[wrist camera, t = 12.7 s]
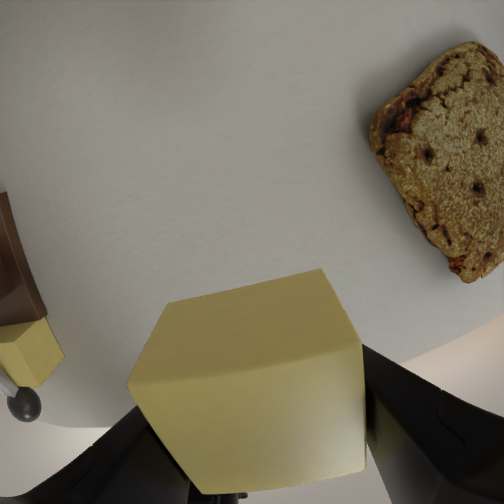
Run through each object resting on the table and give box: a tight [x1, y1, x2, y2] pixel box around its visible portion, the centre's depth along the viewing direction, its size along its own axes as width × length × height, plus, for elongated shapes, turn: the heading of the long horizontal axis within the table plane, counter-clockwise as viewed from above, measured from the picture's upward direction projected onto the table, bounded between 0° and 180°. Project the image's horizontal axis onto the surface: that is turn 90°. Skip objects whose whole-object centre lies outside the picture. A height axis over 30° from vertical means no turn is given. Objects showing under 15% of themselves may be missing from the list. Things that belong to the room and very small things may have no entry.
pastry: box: [369, 41, 504, 283], centre depth 15 cm, size 17×17×3 cm
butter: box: [0, 316, 64, 387], centre depth 19 cm, size 4×7×4 cm, turn 103°
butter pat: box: [126, 269, 366, 494], centre depth 7 cm, size 4×4×4 cm
